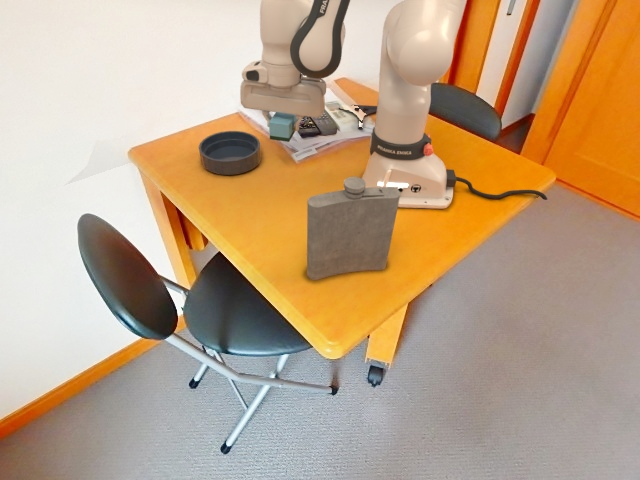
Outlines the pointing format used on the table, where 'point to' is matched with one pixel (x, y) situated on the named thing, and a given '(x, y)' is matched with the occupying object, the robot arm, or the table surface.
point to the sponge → (282, 126)
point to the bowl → (230, 152)
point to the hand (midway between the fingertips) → (283, 128)
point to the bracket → (366, 110)
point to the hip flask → (350, 229)
